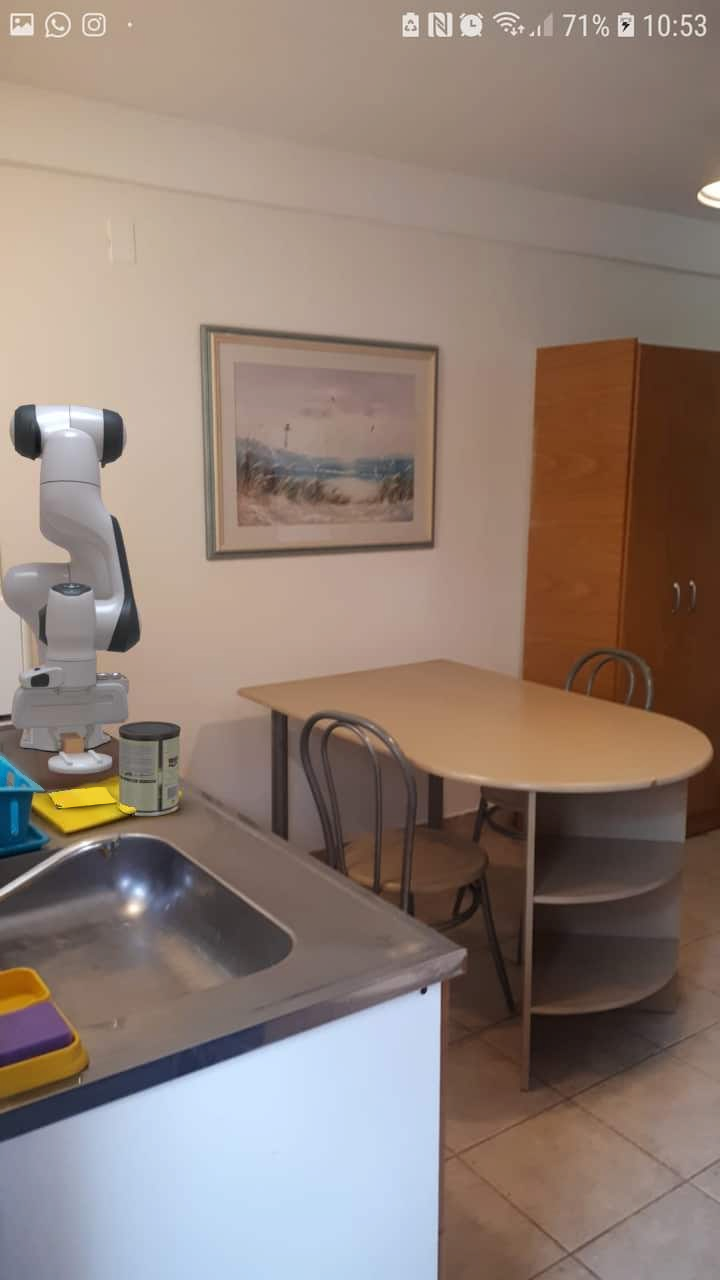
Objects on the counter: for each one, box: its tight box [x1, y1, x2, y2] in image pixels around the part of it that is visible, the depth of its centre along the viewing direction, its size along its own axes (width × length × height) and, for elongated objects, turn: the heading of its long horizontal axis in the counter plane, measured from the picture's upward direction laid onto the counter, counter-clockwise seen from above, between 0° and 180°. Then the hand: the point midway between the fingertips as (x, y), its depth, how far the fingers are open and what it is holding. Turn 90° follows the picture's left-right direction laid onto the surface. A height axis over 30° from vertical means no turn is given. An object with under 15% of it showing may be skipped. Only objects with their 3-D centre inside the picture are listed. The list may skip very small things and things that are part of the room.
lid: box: [47, 732, 113, 775], centre depth 167 cm, size 17×11×4 cm, turn 27°
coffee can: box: [118, 721, 181, 817], centre depth 162 cm, size 10×10×14 cm
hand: (71, 749), depth 172 cm, fingers closed on lid, 3 cm apart
